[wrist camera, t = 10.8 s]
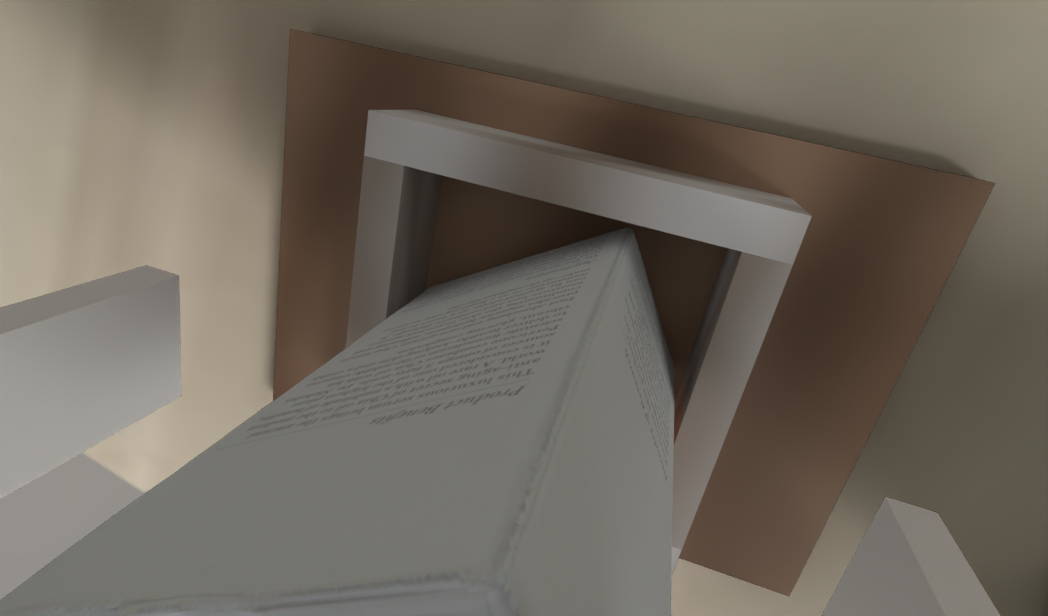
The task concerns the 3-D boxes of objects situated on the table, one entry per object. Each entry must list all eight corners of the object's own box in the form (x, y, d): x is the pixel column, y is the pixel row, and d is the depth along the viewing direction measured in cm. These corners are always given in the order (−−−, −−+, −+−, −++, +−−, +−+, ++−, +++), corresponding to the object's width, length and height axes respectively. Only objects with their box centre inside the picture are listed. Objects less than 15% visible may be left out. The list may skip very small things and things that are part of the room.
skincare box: (482, 415, 18) (141, 926, 7) (430, 283, 17) (-71, 624, 6) (685, 373, 15) (678, 1017, 5) (639, 219, 15) (486, 564, 4)
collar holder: (978, 179, 13) (1061, 200, 10) (785, 576, 18) (804, 670, 15) (308, 32, 16) (223, 16, 13) (287, 404, 20) (220, 453, 18)
